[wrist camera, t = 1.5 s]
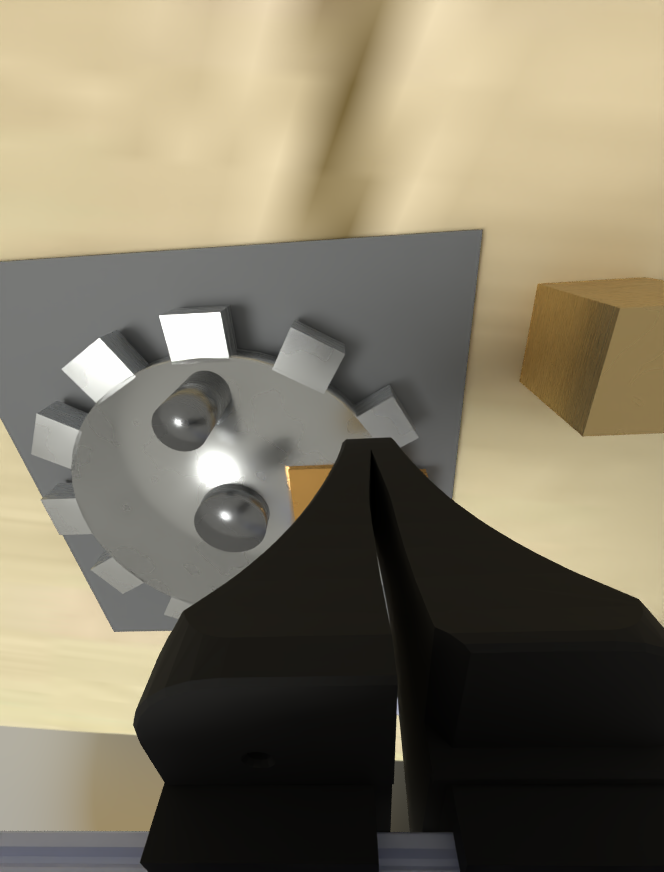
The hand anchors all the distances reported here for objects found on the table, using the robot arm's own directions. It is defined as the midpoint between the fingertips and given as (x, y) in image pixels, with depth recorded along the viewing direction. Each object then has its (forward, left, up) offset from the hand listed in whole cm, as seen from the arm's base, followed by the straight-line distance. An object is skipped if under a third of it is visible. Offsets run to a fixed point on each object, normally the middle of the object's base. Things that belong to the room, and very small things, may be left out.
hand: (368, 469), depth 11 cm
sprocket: (-6, +6, -7) cm, 11 cm away
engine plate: (-6, +6, -7) cm, 11 cm away
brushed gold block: (+1, -9, -7) cm, 12 cm away
